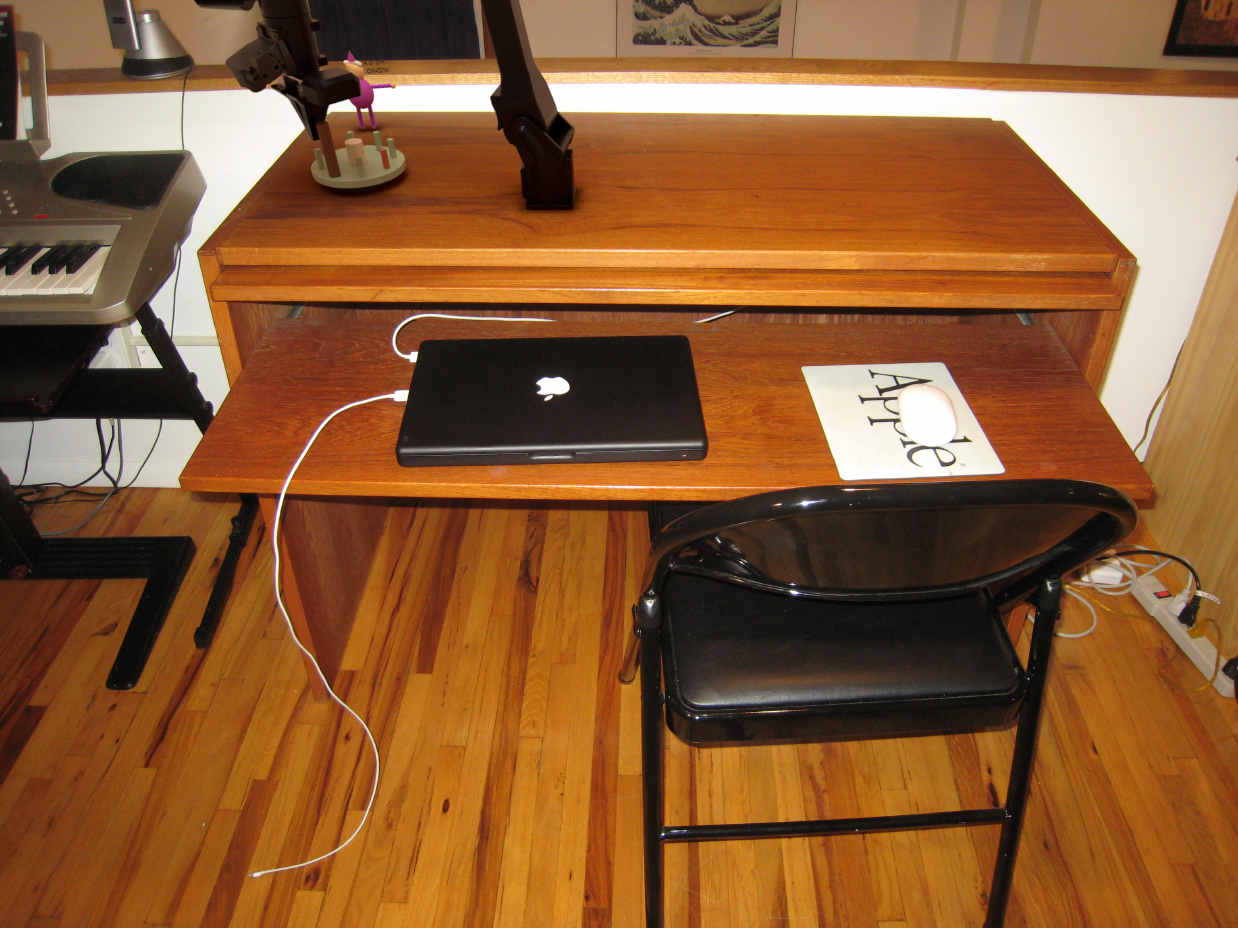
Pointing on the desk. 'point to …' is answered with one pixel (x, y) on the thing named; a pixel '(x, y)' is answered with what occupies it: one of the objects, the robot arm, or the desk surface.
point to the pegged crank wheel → (355, 161)
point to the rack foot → (363, 187)
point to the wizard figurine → (364, 89)
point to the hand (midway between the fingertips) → (316, 140)
